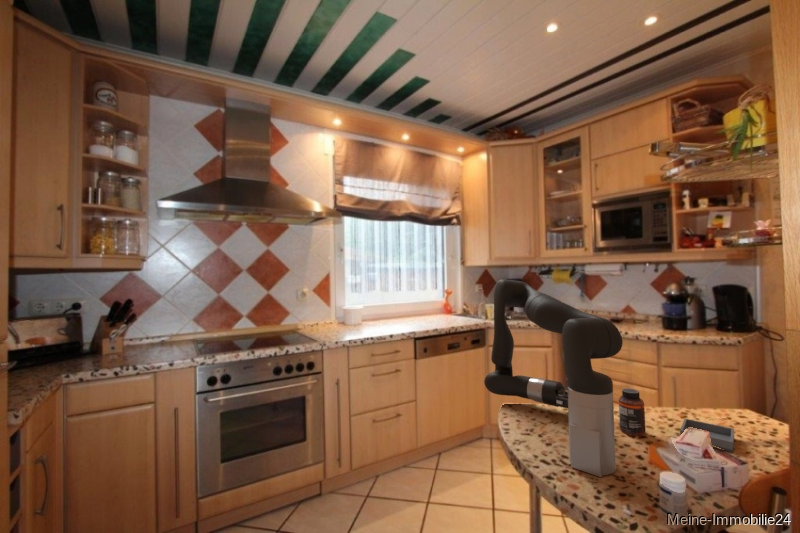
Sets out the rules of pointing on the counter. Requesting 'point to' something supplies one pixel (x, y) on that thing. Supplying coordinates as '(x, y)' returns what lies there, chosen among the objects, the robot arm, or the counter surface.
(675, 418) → the counter surface
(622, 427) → the supplement bottle
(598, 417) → the robot arm
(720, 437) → the slate tray
